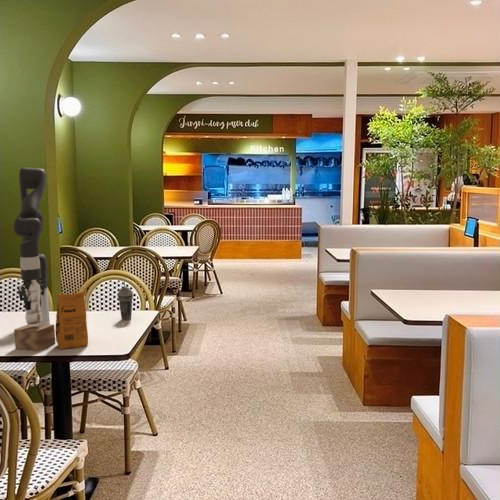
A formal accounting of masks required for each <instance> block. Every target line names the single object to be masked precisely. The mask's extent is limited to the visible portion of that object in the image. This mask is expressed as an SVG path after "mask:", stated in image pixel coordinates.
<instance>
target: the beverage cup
mask: <svg viewBox="0 0 500 500" xmlns="http://www.w3.org/2000/svg"><path fill="white" fill-rule="evenodd" d="M122 279H123V287H121V288H120V289H119V290H118V292H117V298H118V302H119V303H118V304H119V311H120V316H121V317H120V318H121V320H122V321H130V320H131V319H132V314H133V313H132V310H133V297H134V294H133V291H132V289H131V288H129V287H127V286H126V283H125V277H123V278H122Z"/></svg>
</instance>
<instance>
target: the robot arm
mask: <svg viewBox="0 0 500 500" xmlns="http://www.w3.org/2000/svg"><path fill="white" fill-rule="evenodd" d="M18 183H19V192H20V194H19V195H20V212H19V214H18V215H17V216H16V219H15V220H14V222H13V225H12V228H13V232H14V234H15V235H17V236H18V237H21V243H20V244H19V256H20V257H19V259H20V261H19V264H20V278H21V280H22V281H23V282H22V285H18V286H17V292H18V297H19V300H20V301H23V302H24V303H23V304H24V310H25V311H26V310H31V304H30V296H31V291H30V292H29V293H26V292H25V290H26V288H27V290H28V289H29V287H30V285H31V282H32V281H31V280H36V282H37V283H38V284H39V285H40V308H41V313H42V321H41V322H40V323H39V324H50V306H49V294H48V293H49V292H48V291H49V289H48V275H47V273H48V272H47V271H48V269H47V268H48V264H47V258H46V255H45V254H44V253H40V252H39V251H40V250H39V242H40V236H41V234H42V233H43V231H44V230H43V229H44V222H43V221H44V219H43V217H44V216H43V213H42V212H41V210H40V205H41V201H42V199H43V195H44V193H45V190H46V185H47V173H46V170H45V169H43V168H41V167H40V168H39V167H37V168H36V167H21V168H20V169H19V173H18ZM29 190H32V191H31V192H29ZM32 286H33V285H32ZM26 295H28V297H26ZM26 323H27V322H26ZM26 325H28V323H27V324H26Z"/></svg>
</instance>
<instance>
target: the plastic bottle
mask: <svg viewBox="0 0 500 500" xmlns="http://www.w3.org/2000/svg"><path fill="white" fill-rule="evenodd" d="M31 281H32V282H31V285H30V287H29V289H28V290H27V288H26V290H25V292H26V293H29V292H30V291H31V296H30V304H31V310H25V318H24V319H25V323H28V324H37V323H40V322H41V321H42V313H41V308H40V285H39V284H38V283H37V282H36V280H31ZM32 285H33V286H32ZM26 297H28V295H26Z"/></svg>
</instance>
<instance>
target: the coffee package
mask: <svg viewBox="0 0 500 500" xmlns="http://www.w3.org/2000/svg"><path fill="white" fill-rule="evenodd" d="M85 298H86V297H85V292H84V291H79V292H75V293H71V294H69V293H57V305H56V314H55V318H56V319H55V342H56V343H57V347H58V349H60V350H65V349H66V350H67V349H71V348H72V349H78V348H82V347H85V346H86V347H87V346H88V345H89V334H88V325H87V324H88V322H87V309H86V308H87V307H86V303H85V300H86V299H85Z"/></svg>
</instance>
